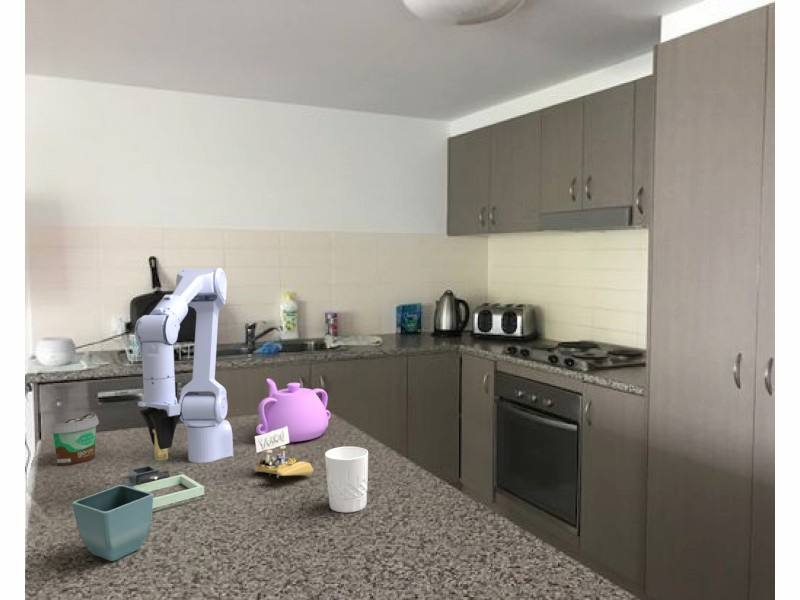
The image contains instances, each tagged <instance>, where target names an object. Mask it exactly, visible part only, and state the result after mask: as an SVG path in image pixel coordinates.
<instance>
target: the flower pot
mask: <svg viewBox="0 0 800 600" xmlns="http://www.w3.org/2000/svg"><path fill="white" fill-rule="evenodd" d="M153 497H154V498H155V495H154V493H153V492H151V491H149V492H145V491H142V490H138V489H134V488H131V487H130V486H129V485H123V484H119V485H115V486H111V487H110V488H107V489H104V490H101V491H100V492H96V493H93V494H90V495H88V496H85V497H82V498H80V499H76V500H73V501H72V502H71V504H72V509H73V514H74V518H75V522H76V528H77V530H78V534H79V536H80V539H81V540H82V542H83V544H84V545H85V546H86V548H87V549H88V551H90V552H91V554H92V555H94V556H97V557H100V558H101V559H104V560H107V561H110V562H114V561H117V560H119V559H121V558H123V557H125V556H127V555H129V554H132V553H134V552H136V551H138V550H139V549H140V548H141V547H142V545H144V544H143V543H144V542H145V541H146V538H147V536H148V534H149V532H150V529H151V525H152V519H153V514H152V512H153V509H154V508H153Z"/></svg>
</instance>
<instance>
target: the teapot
mask: <svg viewBox="0 0 800 600" xmlns="http://www.w3.org/2000/svg"><path fill="white" fill-rule="evenodd" d="M266 382H267V386H268V397H265V398H264V399H262V400H261V401H260V402H259V403H258V406H257V407H258V408H257V410H258V411H257V412H258V415H259V418H260V423H258V424H257V425H256V428H255V432H256V434H257V435H258V436H259V435H262V434H265V433H269V432H271V431H274V430H277V429H282V428H284V427H286V426H288V435H289V443H288V444H293V443H298V442H303V441H309V440H314V439H316V438H319V437H320V436H322V435H323V433H324V432H325V431H326V430H327V429H328V427H329V420H330V418H331V416H332V415H331V412H330V410H328V409H327V406H328V398H329V397H328V393H327V392H326V390H324V389H323V388H314V389H311V388H305V387H301V383H300V382H290V383H287V384H286V387H287V388H283V389H279V390H278V388H277V384H276V383H275V381H274V380H273V379H271V378H266ZM317 394H321V399H320V398H319V395H317Z"/></svg>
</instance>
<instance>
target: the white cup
mask: <svg viewBox="0 0 800 600" xmlns="http://www.w3.org/2000/svg"><path fill="white" fill-rule="evenodd" d="M324 456H325V457H324V459H325V472H326V473H325V474H326V484H327V493H328V501H329V507H330V509H331V510H332V511H334V512H338V513H355V512H358V511H361V510H363V509H365V508H366V506H367V504H368V503H367V499H368V498H367V496H368V493H367V492H368V478H369V476H368V475H369V451H368V449H366V448H363V447H360V446H341V447H340V446H339V447H335V448H331V449H329V450H327V451H325V453H324Z"/></svg>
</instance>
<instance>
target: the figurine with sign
mask: <svg viewBox="0 0 800 600" xmlns="http://www.w3.org/2000/svg"><path fill="white" fill-rule="evenodd" d="M254 441H255V448H256V449H255V450H256V454H257V453H260V452H263V453H265V458H260V459H259V461H258V465H257V466H256V467H255V468H254V473H257V472H260V473H267V474H269V476H271V474H275V475H276V478H277V479H278V478H279V477H283V476H284V477H286V476H287V477H288V476H290V477H291V476H308V475H311V474H312V473H314V468H313V466H312V465H311V463H310V462H306V461H301V460H296V458H295V457H293V458H290V457H286V455H285V450H287V447H286V445H287V444H290V443H289V435H288V426H286V427H284V428H282V429H277V430H274V431H271V432H269V433H265V434H262V435H259V434H258V435H255V436H254ZM278 447H279V450H278V453H277V454H276V456H271V459H270V454H273V450H272V449H275V448H278ZM269 476H268V477H269ZM224 499H225V497H223V498H222V500H224Z"/></svg>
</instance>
